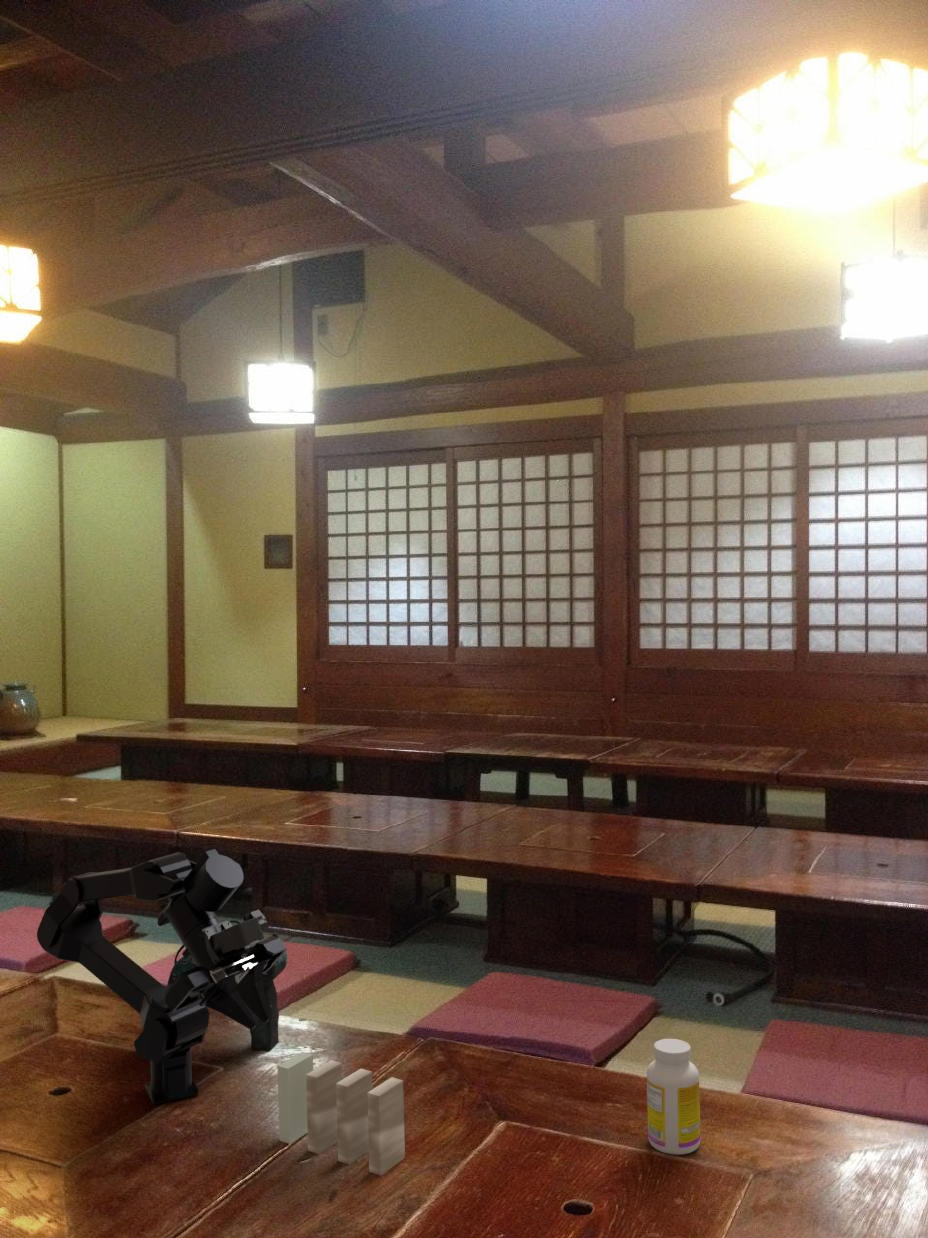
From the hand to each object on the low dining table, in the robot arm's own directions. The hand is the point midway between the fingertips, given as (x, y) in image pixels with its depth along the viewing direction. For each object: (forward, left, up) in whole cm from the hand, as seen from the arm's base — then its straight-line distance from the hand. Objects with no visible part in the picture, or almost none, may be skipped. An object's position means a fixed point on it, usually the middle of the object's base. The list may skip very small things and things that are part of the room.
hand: (260, 1024), depth 151 cm
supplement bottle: (+31, +45, -14) cm, 57 cm away
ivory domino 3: (+18, +10, -14) cm, 25 cm away
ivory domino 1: (+10, +5, -14) cm, 18 cm away
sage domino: (+5, +3, -14) cm, 15 cm away
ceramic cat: (-28, +2, -14) cm, 32 cm away
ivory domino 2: (+14, +8, -14) cm, 21 cm away
